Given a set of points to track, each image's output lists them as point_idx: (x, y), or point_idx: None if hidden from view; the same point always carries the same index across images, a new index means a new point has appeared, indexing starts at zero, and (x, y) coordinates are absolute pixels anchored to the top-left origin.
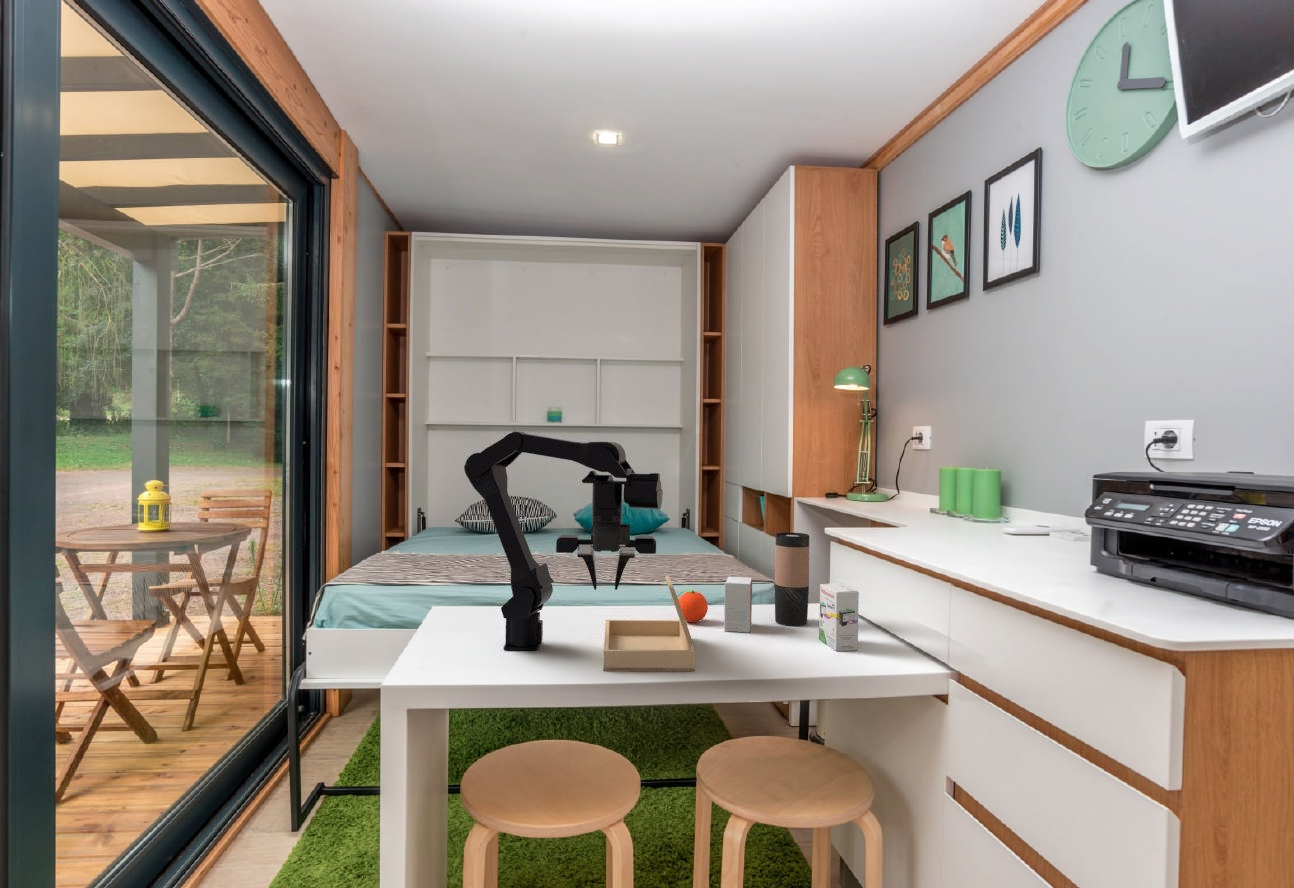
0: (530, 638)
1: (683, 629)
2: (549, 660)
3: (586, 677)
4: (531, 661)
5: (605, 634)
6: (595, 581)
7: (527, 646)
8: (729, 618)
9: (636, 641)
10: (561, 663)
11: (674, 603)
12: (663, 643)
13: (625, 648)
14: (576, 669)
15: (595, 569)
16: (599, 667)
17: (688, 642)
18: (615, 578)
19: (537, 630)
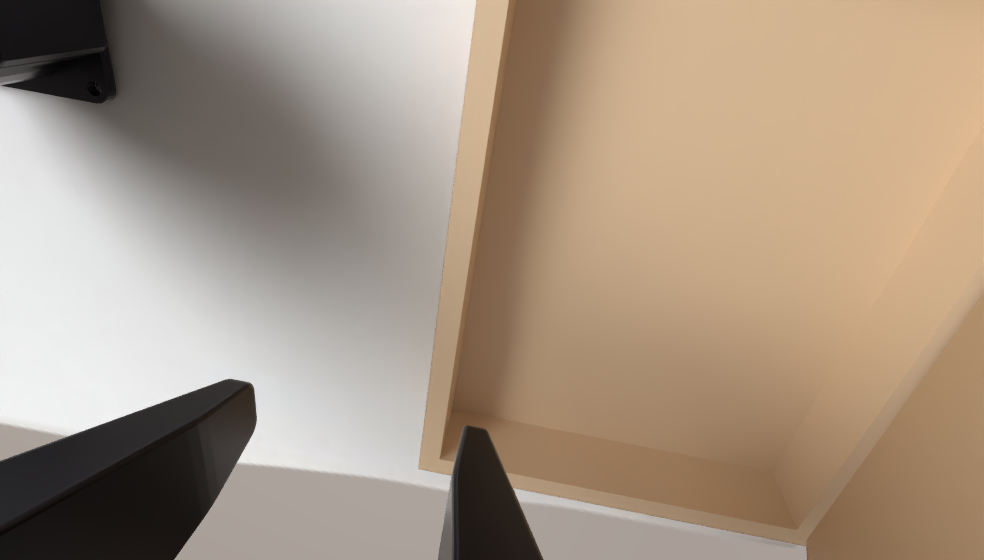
0: (25, 74)
1: (887, 465)
2: (215, 257)
3: (373, 447)
4: (143, 256)
5: (452, 234)
6: (195, 516)
7: (50, 73)
8: None
9: (690, 61)
10: (272, 302)
11: (969, 542)
12: (844, 137)
13: (579, 196)
14: (336, 375)
15: (48, 537)
16: (424, 372)
17: (808, 550)
18: (444, 537)
19: (19, 66)
